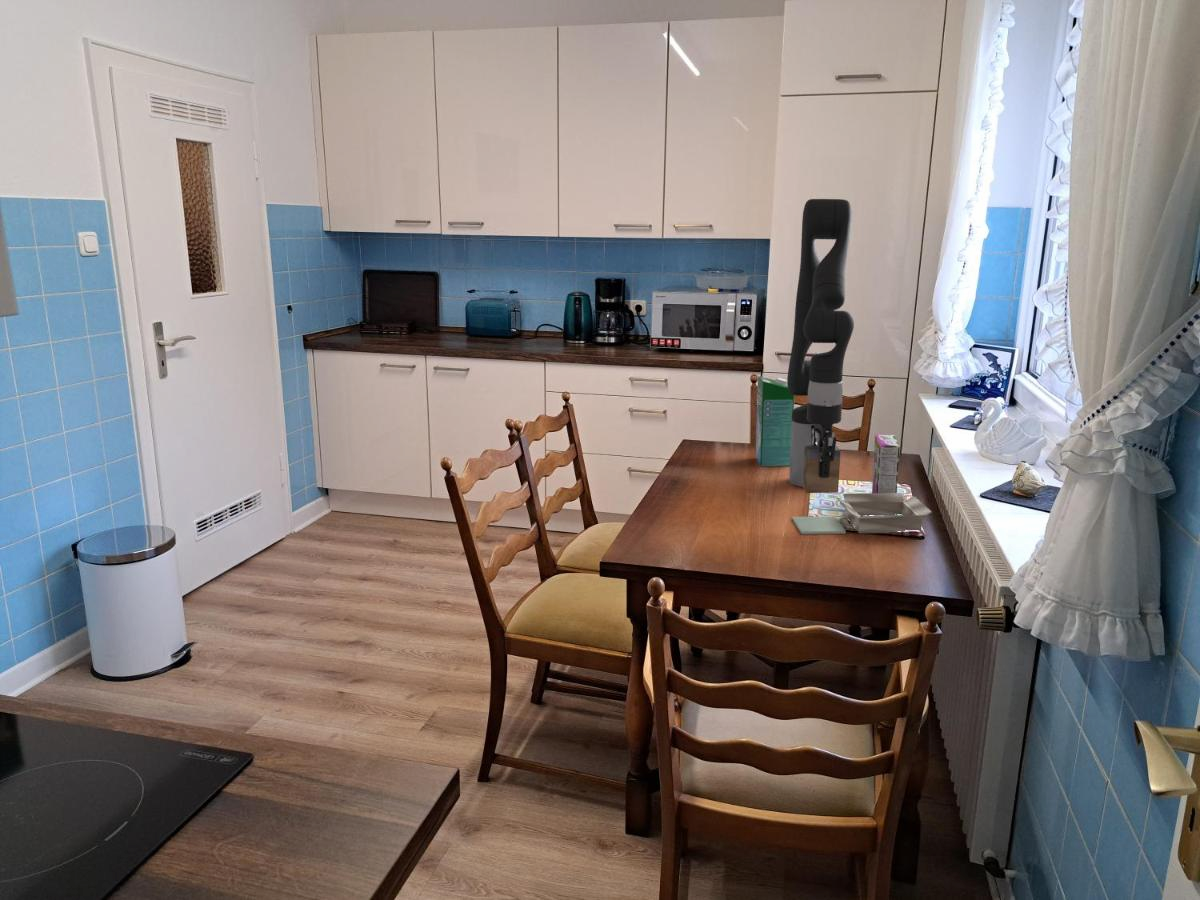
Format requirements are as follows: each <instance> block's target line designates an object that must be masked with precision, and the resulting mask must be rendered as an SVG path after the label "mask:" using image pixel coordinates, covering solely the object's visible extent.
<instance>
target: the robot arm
mask: <svg viewBox="0 0 1200 900" xmlns="http://www.w3.org/2000/svg"><path fill="white" fill-rule="evenodd" d="M852 218H853V216H852V206H851V203H850V202H849V201H848V200H847V199H843V198H842V199H841V198H810V199H808V200H806V202H805V204H804V207H803V210H802V218H801V219H802V220H801V221H802V222H801V244H800V245H801V246H800V247H801V248H800V264H799V265H800V266H799V275H798V281H797V288H796V289H797V290H796V297H795V308H794V324H793V325H794V326H793V337H792V338H793V339H792V345H791V351H790V357H789V362H788V363H789V364H788V370H787V376H786V377H787V378H786V380H787V386H788V391H789V393H790V394H792V395H794V396H796V397H797V396H798V397H799V396H801V397H803V396H804V397H806V396H807V401H806V402H807V403H806V404H803V405H800V406H797V407H794V410H793V411H792V422H791V448H790V466H789V473H788V474H789V475H788V483H789V484H791V485H793V486H796V487H801V488H803V472H804V450H805V446H811V445H813V446H817V450H818V451H819V477H820V478H828V477H829V470H830V462H831V461H833V460H834V453H835V446H837V437H836V436H835V431H834V430H833V425H836V424H839V423H840V422H841V421H842V415H843V414H842V413H843V412H842V411H843V408H842V407H843V393H844V392H843V373H844V360H845V355H846V351H847V349H848V346H849V343H850V341H851V337H852V335H853V331H854V327H855V322H854V321H855V320H854V318H853V316H852V314H851V313H850V312H849V311H847V310H838V309H840V308H842V306H844V304H845V300H846V290H845V289H846V278H845V277H846V268H847V267H846V266H847V259H848V255H849V254H848V252H849V247H850V238H851V229H852V220H853V219H852ZM816 240H832V241H833V240H835V242H834V244H833V246H832V248H831V249H830V250H829V252H827V254H826V255H825V256H824V257H823V259H821V260H820V258H819V256H818V253H817V250H816V245H815V241H816ZM812 344H835V345H834V347H833V348H832V349H830V350H829V351H826V352H821V353H817V354H814V355H812V356H811V357H810V360H808V359H807V360H805V358H806V356H807V354H808V351H809V350H810V348H811V346H812ZM821 446H823V448H822V447H821ZM826 453H828V456H825V454H826Z"/></svg>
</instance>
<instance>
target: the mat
mask: <svg viewBox="0 0 1200 900" xmlns="http://www.w3.org/2000/svg"><path fill="white" fill-rule="evenodd" d="M791 520H792V521H793V523H794V525H795V526H796V528H797V530H798V532H799V533H800V534H801V535H829V534H830V535H831V534H834V535H836V534H837V535H838V534H839V535H840V534H844V535H845V534H846V532H847V531H846V529H845V528H844V527H843V525H842V524H841V523H840V521H839V520H838V519H837V518H836V517H835V516H834V515H832V516H831V515H830V516H829V515H828V516H826V515H825V516H792V517H791Z"/></svg>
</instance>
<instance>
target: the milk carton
mask: <svg viewBox="0 0 1200 900" xmlns="http://www.w3.org/2000/svg"><path fill="white" fill-rule="evenodd" d="M756 393H757V394H756V400H757V401H756V421H755V422H756V424H755V425H756V427H755V460H756V459H757V460H756V461H757V462H758V464H759V466H760V467H790V448H791V422H792V411H793V410H794V409H795V395H792V394H790V393H789V391H788V386H787V379H784V378H780V377H776V378H775V379H772V378H767V377H764V376H757V392H756Z"/></svg>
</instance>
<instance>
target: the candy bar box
mask: <svg viewBox="0 0 1200 900" xmlns="http://www.w3.org/2000/svg"><path fill="white" fill-rule="evenodd" d="M873 447H874V449H873V467H872V483H871V484H872V487H871V493H898V482H899V479H898V477H899V463H900V448H901V447H900V445H899V442H898V440H897V438H896V435H895V434H874V446H873Z"/></svg>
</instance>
